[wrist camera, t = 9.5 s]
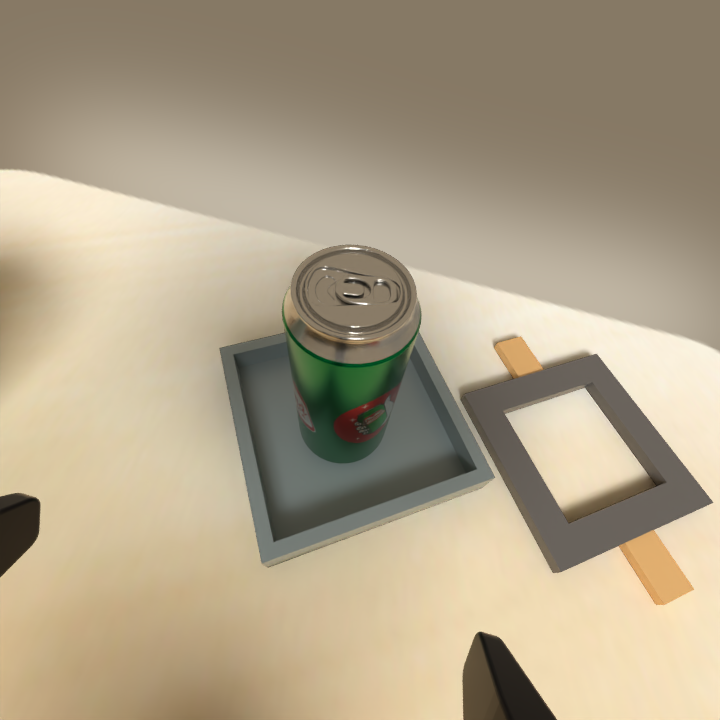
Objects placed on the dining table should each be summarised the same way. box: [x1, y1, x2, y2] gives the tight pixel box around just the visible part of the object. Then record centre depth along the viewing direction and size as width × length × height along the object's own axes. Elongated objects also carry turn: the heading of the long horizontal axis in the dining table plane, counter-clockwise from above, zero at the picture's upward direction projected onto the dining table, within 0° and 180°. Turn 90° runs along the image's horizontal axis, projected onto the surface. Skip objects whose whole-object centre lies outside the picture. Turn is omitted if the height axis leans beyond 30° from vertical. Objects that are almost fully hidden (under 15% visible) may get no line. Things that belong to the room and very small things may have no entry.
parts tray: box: [220, 332, 495, 567], centre depth 23 cm, size 12×12×2 cm
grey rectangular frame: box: [461, 337, 713, 605], centre depth 24 cm, size 11×17×1 cm, turn 19°
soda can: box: [282, 245, 421, 464], centre depth 18 cm, size 5×5×12 cm
